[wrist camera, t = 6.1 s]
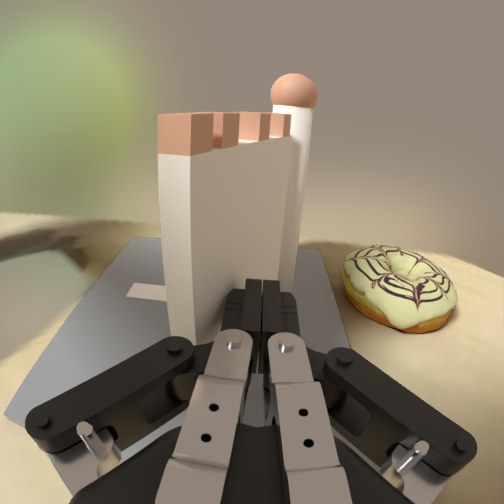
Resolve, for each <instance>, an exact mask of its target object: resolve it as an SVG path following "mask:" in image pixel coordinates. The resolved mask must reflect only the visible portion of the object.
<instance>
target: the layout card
mask: <svg viewBox="0 0 504 504" xmlns="http://www.w3.org/2000/svg"><path fill="white" fill-rule="evenodd" d="M291 294H292V295H293V296H294V297H295V299H296V304H297V312H298V320H299V328H300V336H301V338H302V340H303V341H304V343H305V345H306V346H307V347H308V348H310V349H312V350H314V351H317V352H320V353H324V354H327V353H328V352H329V351H330V350H331V349H333V348H337V347H345V348H349V349H350V346H349V343H348V339H347V336H346V333H345V329H344V326H343V322H342V319H341V316H340V312H339V309H338V306H337V303H336V299H335V296H334V293H333V290H332V287H331V284H330V281H329V277H328V274H327V271H326V268H325V265H324V262H323V259H322V256H321V253H320V250H317V249H304V248H298V250H297V257H296V265H295V272H294V279H293V285H292V292H291ZM170 336H171V332H170V324H169V316H168V308H167V299H166V289H165V279H164V268H163V256H162V243H161V239H160V238H144V237H133V239H132V240H131V241H130V242H129V243H128V244H127V245H126V247H125V248H124V249H123V250H122V251H121V252H120V253H119V255H118V256H117V257H116V258H115V259H114V260H113V262H112V263H111V264H110V265H109V266H108V268H107V269H106V270H105V271H104V272H103V274H102V275H101V276H100V277H99V278H98V280H97V281H96V282H95V283H94V285H93V286H92V287H91V288H90V290H89V291H88V292H87V293H86V295H85V296H84V297H83V298H82V300H81V301H80V302H79V304H78V305H77V306H76V307H75V309H74V310H73V311H72V313H71V314H70V315H69V317H68V318H67V319H66V321H65V322H64V323H63V325H62V326H61V327H60V329H59V330H58V332H57V333H56V334H55V336H54V337H53V338H52V340H51V341H50V343H49V344H48V345H47V347H46V348H45V350H44V351H43V353H42V354H41V356H40V357H39V358H38V360H37V361H36V363H35V364H34V366H33V367H32V369H31V370H30V372H29V373H28V375H27V376H26V378H25V380H24V381H23V383H22V384H21V386H20V387H19V389H18V391H17V392H16V394H15V395H14V397H13V399H12V400H11V402H10V404H9V405H8V407H7V409H6V410H5V412H4V414H5V416H6V417H7V418H8V419H9V420H11V421H12V422H14V423H16V424H19V425H21V426H23V427H25V419H26V416H27V414H28V413H29V412H30V410H32V409H33V408H35V407H36V406H38V405H40V404H42V403H44V402H46V401H48V400H50V399H52V398H54V397H56V396H58V395H60V394H62V393H64V392H66V391H68V390H70V389H71V388H73V387H75V386H77V385H79V384H81V383H83V382H85V381H87V380H89V379H91V378H92V377H94V376H96V375H98V374H100V373H102V372H104V371H106V370H107V369H109V368H111V367H113V366H115V365H117V364H119V363H120V362H122V361H124V360H126V359H128V358H130V357H131V356H133V355H135V354H137V353H139V352H141V351H142V350H144V349H146V348H148V347H150V346H151V345H153V344H155V343H157V342H159V341H160V340H162V339H164V338H166V337H170ZM258 354H259V351H258ZM262 385H263V374H258V360H257V370H256V374H253V373H252V376H251V383H250V385H249V390H248V396H247V402H246V408H245V414H244V420H243V424H246V425H250V426H253V427H263V426H264V412H263V399H262ZM350 397H351V396H350ZM355 401H356V400H355ZM360 405H361V404H360ZM365 409H366V408H365ZM186 412H187V409H186V410H184V411H183V412H182V413H180V414H179V415H177V416H176V417H174V418H173V419H171V420H170V421H168V422H167V423H165V424H164V425H163V426H161V427H160V428H158V429H157V430H155V431H153V432H152V433H150V434H149V435H147V436H146V437H144V438H143V439H141V440H140V441H138V442H136V443H135V444H133V445H132V446H130V447H129V448H127V449H125V450H124V451H122V452H121V461H120V463H122V462H124V461H125V460H127V459H128V458H130V457H131V456H133V455H134V454H136V453H137V452H139V451H140V450H141V449H143V448H144V447H146V446H147V445H149V444H150V443H151V442H153V441H154V440H156V439H157V438H158V437H160V436H161V435H162V434H164V433H166V432H167V431H169V430H171V429H174V428H176V427H179V426H182V425H183V422H184V419H185V416H186ZM331 429H332V433H333V436H335V437H337V438H339V439H340V440H342V441H343V442H345V443H346V444H347V445H348V446H349V447H350V448H351V449H352V450H353V451H355V452H356V453H357V454H358V455H359V456H360V457H361V458H362V459H363V460H364V461H366V462H367V463H368V464H369V465H370V466H371V467H372V468H373V469H375V470H376V471H377V472H378V473H379V474H380V468H379V466H377V465H376V464H375V463H374V462H372V461H371V460H370V459H369V458H368V457H366V456H365V455H364V454H363V453H362V452H360V451H359V450H358V449H357V448H356V447H354V446H353V445H352V444H351V443H350V442H349V441H347V440H346V439H345V438H344V437H343V436H342V435H340V434H339V433H338V432H337V431H336V430H335V429H334V428H332V427H331Z"/></svg>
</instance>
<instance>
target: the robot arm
mask: <svg viewBox="0 0 504 504" xmlns="http://www.w3.org/2000/svg"><path fill="white" fill-rule="evenodd" d="M258 351H259V354H258ZM257 360H258V374H263V385H262V399H263V412H264V426H263V427H253V426H250V425H246V424H243V420H244V414H245V408H246V402H247V396H248V390H249V385H250V383H251V376H252V373H253V374H256V370H257ZM350 396H351V397H350ZM355 400H356V401H355ZM360 404H361V405H360ZM187 408H188V409H187ZM365 408H366V409H365ZM186 409H187V412H186V416H185V419H184V422H183V425H182V426H179V427H176V428H174V429H171V430H169V431H167V432H166V433H164V434H162V435H161V436H160V437H158V438H157V439H156V440H154V441H153V442H151V443H150V444H149V445H147V446H146V447H144V448H143V449H141V450H140V451H139V452H137V453H136V454H134V455H133V456H131V457H130V458H128V459H127V460H125V461H124V462H122V463H121V464H119V463H120V461H121V452H122V451H124V450H125V449H127V448H129V447H130V446H132V445H133V444H135V443H136V442H138V441H140V440H141V439H143V438H144V437H146V436H147V435H149V434H150V433H152V432H153V431H155V430H157V429H158V428H160V427H161V426H163V425H164V424H165V423H167V422H168V421H170V420H171V419H173V418H174V417H176V416H177V415H179V414H180V413H182V412H183V411H184V410H186ZM331 427H332V428H334V429H335V430H336V431H337V432H338V433H339V434H340V435H342V436H343V437H344V438H345V439H346V440H347V441H349V442H350V443H351V444H352V445H353V446H354V447H356V448H357V449H358V450H359V451H360V452H362V453H363V454H364V455H365V456H366V457H368V458H369V459H370V460H371V461H372V462H374V463H375V464H376V465H377V466H379V467H380V474H379V473H378V472H377V471H376V470H375V469H373V468H372V467H371V466H370V465H369V464H368V463H367V462H366V461H364V460H363V459H362V458H361V457H360V456H359V455H358V454H357V453H356V452H355V451H353V450H352V449H351V448H350V447H349V446H348V445H347V444H346V443H345V442H343V441H342V440H340V439H339V438H337V437H335V436H333V433H332V429H331ZM25 428H26V431H27V432H28V434H29V435H30V436H31V437H32V438H33V440H34V441H35V442H36V443H37V445H38V447H39V448H40V449H41V450H42V451H43V452H44V453H45V454H46V456H47V457H48V458H49V459H50V460H51V462H52V464H53V465H54V467H55V469H56V470H57V472H58V474H59V475H60V477H61V479H62V480H63V482H64V483H65V485H66V486H67V488H68V490H69V491H70V493H71V494H72V496H73V498H72V499H71V501H70V503H69V504H432V502H433V501H434V500H435V498H436V497H437V496H438V494H439V493H440V492H441V490H442V489H443V487H444V486H445V485H446V483H447V482H448V480H449V479H450V478H451V477H453V476H454V475H455V474H456V473H458V472H459V471H460V470H461V469H462V468H463V467H465V466H466V465H467V464H468V463H469V462H470V461H471V460H472V459H473V458H474V457H475V455H476V453H477V443H476V441H475V439H474V437H473V436H472V435H471V434H470V433H469V432H467V431H466V430H464V429H463V428H461V427H460V426H459V425H457V424H456V423H454V422H453V421H451V420H450V419H449V418H447V417H446V416H444V415H443V414H441V413H440V412H439V411H437V410H436V409H434V408H433V407H432V406H430V405H429V404H427V403H426V402H425V401H423V400H422V399H420V398H419V397H418V396H416V395H415V394H413V393H412V392H411V391H409V390H408V389H406V388H405V387H404V386H402V385H401V384H399V383H398V382H397V381H395V380H394V379H392V378H391V377H390V376H388V375H387V374H386V373H384V372H383V371H381V370H380V369H379V368H377V367H376V366H375V365H373V364H372V363H370V362H369V361H368V360H366V359H365V358H364V357H362V356H361V355H360V354H358V353H357V352H355V351H354V350H352V349H349V348H345V347H337V348H333V349H331V350H330V351H329V352H328V353H327V354H324V353H320V352H317V351H314V350H312V349H310V348H308V347H307V346H306V345H305V343H304V341H303V340H302V338H301V336H300V328H299V320H298V312H297V304H296V299H295V297H294V296H293V295H292V294H291V292H280V281H279V280H264V279H263V287H262V279H249V278H246V282H245V289H235V288H233V289H232V290H231V291H230V292H229V293H228V295H227V299H226V305H225V310H224V315H223V320H222V326H221V331H220V333H219V334H218V335H217V336H216V337H215V340H213V341H212V342H210V343H207V344H202V345H194V346H193V344H192V342H191V341H190V340H188V339H187V338H184V337H181V336H170V337H166V338H164V339H162V340H160V341H159V342H157V343H155V344H153V345H151V346H150V347H148V348H146V349H144V350H142V351H141V352H139V353H137V354H135V355H133V356H131V357H130V358H128V359H126V360H124V361H122V362H120V363H119V364H117V365H115V366H113V367H111V368H109V369H107V370H106V371H104V372H102V373H100V374H98V375H96V376H94V377H92V378H91V379H89V380H87V381H85V382H83V383H81V384H79V385H77V386H75V387H73V388H71V389H70V390H68V391H66V392H64V393H62V394H60V395H58V396H56V397H54V398H52V399H50V400H48V401H46V402H44V403H42V404H40V405H38V406H36V407H35V408H33V409H32V410H30V412H29V413H28V414H27V416H26V419H25Z"/></svg>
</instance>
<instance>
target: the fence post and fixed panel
mask: <svg viewBox="0 0 504 504" xmlns="http://www.w3.org/2000/svg"><path fill="white" fill-rule="evenodd" d="M271 100H272V103H273V113H281V114H291V127H290V135H291V136H292V140H291V152H290V163H289V174H288V185H287V195H286V205H285V215H284V225H283V234H282V243H281V252H280V261H279V270H278V279H277V280H279V281H280V292H292V285H293V279H294V272H295V265H296V257H297V250H298V243H299V235H300V227H301V219H302V211H303V203H304V194H305V186H306V177H307V167H308V158H309V148H310V138H311V137H310V136H311V127H312V116H313V108H314V107H315V105H316V102H317V90H316V88H315V86H314V84H313V83H312V81H311V80H309V79H308V78H307V77H305V76H303V75H301V74H295V73H293V74H286V75H284V76H281V77H280V78H279V79H277V80H276V82H275V83H274V84H273V86H272V89H271Z"/></svg>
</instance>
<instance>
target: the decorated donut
mask: <svg viewBox="0 0 504 504" xmlns="http://www.w3.org/2000/svg"><path fill="white" fill-rule="evenodd" d="M341 274H342V279H343V283H344V288H345V291H346V294H347V296H348V298H349V300H350V301H351V303H352V304H353V305H354V306H355V307H356V309H357V310H358V311H359V312H361V313H362V314H363V315H364V316H366V317H368V318H370V319H372V320H374V321H376V322H377V323H379V324H383V325H388V326H389V327H392V328H396V329H400V330H402V331H404V332H406V333H413V332H416V333H425V332H428V331H431V330H437V329H438V328H440V327H442V326H443V325H444V323H445V322H446V321H447V319H448V317H449V315H450V313H451V310H452V308H454V306H455V305H456V303H457V293H456V290H455V288H454V286H453V283H452V282H451V280H450V279H449V277H448V275H447V274H446V273H445V271H443V270H442V269H441V268H439V267H438V266H436V265H435V264H434V263H432V262H431V261H429V260H428V259H426V258H425V257H423V256H421V255H419V254H417V253H414V252H411V251H408V250H405V249H401V248H398V247H393V246H386V245H372V246H367V247H364V248H361V249H358V250H355V251H352V252H351V253H349V254H348V255H347V256H346V258H345V262H344V265H343V269H342V272H341Z"/></svg>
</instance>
